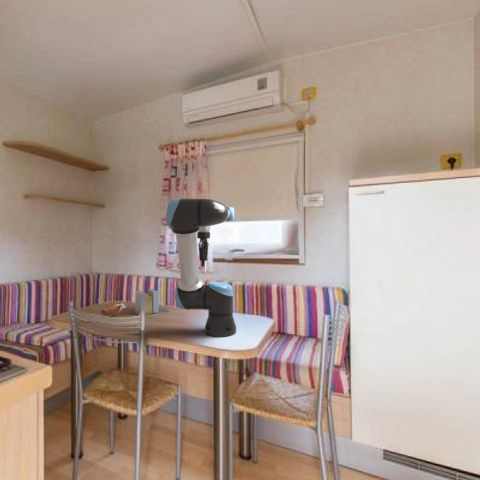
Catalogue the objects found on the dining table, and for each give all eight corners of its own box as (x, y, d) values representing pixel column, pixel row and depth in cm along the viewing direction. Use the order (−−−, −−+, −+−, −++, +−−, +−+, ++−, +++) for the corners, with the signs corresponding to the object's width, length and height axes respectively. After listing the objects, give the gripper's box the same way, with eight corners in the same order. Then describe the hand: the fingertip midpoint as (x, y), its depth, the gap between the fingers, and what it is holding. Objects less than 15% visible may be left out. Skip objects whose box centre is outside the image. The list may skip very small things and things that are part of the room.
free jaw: (152, 308, 177) (152, 288, 176) (158, 312, 168) (158, 291, 168) (147, 309, 175) (147, 289, 175) (153, 313, 167) (153, 292, 166)
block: (148, 310, 174) (148, 293, 174) (152, 313, 167) (152, 295, 167) (141, 311, 172) (141, 294, 172) (145, 314, 165) (145, 296, 165)
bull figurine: (126, 317, 163) (126, 303, 163) (102, 323, 153) (102, 307, 153) (123, 316, 166) (123, 301, 166) (98, 321, 156) (98, 306, 156)
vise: (162, 309, 181) (162, 288, 180) (169, 313, 172) (169, 291, 171) (134, 313, 171) (134, 291, 171) (139, 318, 162) (139, 294, 162)
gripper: (200, 231, 179) (200, 270, 180) (193, 231, 166) (193, 273, 167) (212, 231, 178) (212, 270, 178) (206, 231, 165) (206, 273, 165)
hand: (203, 271), depth 172 cm, fingers closed
